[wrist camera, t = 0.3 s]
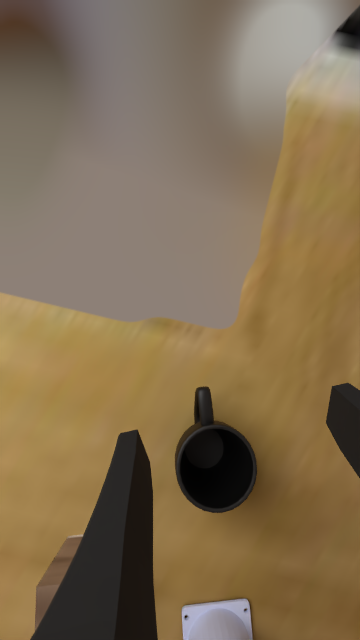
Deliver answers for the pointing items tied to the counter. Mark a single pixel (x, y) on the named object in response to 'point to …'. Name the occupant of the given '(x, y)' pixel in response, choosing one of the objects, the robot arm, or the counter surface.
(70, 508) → the counter surface
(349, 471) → the counter surface
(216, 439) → the mug
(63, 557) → the walnut block
